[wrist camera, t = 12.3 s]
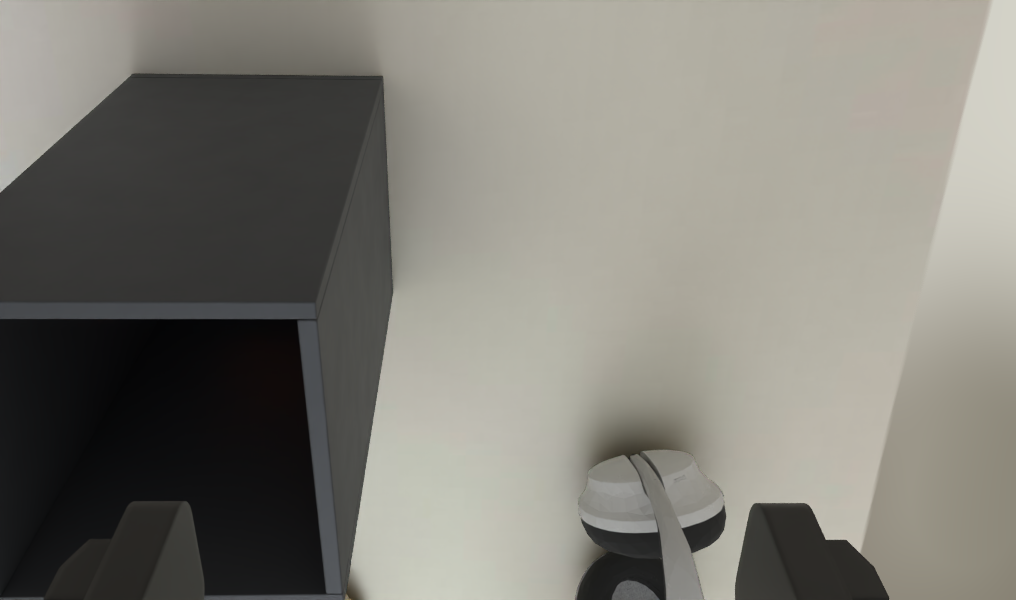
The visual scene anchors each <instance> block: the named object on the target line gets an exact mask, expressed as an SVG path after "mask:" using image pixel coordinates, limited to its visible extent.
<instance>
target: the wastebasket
mask: <svg viewBox="0 0 1016 600" xmlns="http://www.w3.org/2000/svg"><path fill="white" fill-rule="evenodd" d="M392 296H393V280H392V259H391V237H390V216H389V195H388V174H387V152H386V131H385V110H384V89H383V77H382V76H302V75H199V74H132V75H131V76H130V77H129V78H128V79H127V80H126V81H124V82H123V83H122V84H121V85H120V86H119V87H118V88H117V89H116V90H114V91H113V92H112V93H111V94H110V95H109V96H108V97H107V98H105V99H104V100H103V101H102V102H101V103H100V104H99V105H98V106H97V107H95V108H94V109H93V110H92V111H91V112H90V113H89V114H88V115H87V116H85V117H84V118H83V119H82V120H81V121H80V122H79V123H78V124H76V125H75V126H74V127H73V128H72V129H71V130H70V131H69V132H68V133H66V134H65V135H64V136H63V137H62V138H61V139H60V140H59V141H58V142H56V143H55V144H54V145H53V146H52V147H51V148H50V149H49V150H47V151H46V152H45V153H44V154H43V155H42V156H41V157H40V158H39V159H37V160H36V161H35V162H34V163H33V164H32V165H31V166H30V167H29V168H27V169H26V170H25V171H24V172H23V173H22V174H21V175H20V176H18V177H17V178H16V179H15V180H14V181H13V182H12V183H11V184H10V185H8V186H7V187H6V188H5V189H4V190H3V191H2V192H1V193H0V600H44V599H43V598H44V597H45V595H46V593H47V591H48V589H49V587H50V585H51V583H52V581H53V579H54V577H55V575H56V573H57V571H58V569H59V567H60V566H61V565H62V564H63V563H64V562H66V561H67V560H68V559H69V558H70V557H71V556H72V555H73V554H74V553H75V552H76V551H77V550H78V549H79V548H80V547H81V546H83V545H84V544H85V543H86V542H87V541H88V540H89V539H112V538H113V535H114V533H115V531H116V529H117V527H118V525H119V523H120V520H121V518H122V516H123V514H124V512H125V510H126V508H127V506H128V505H129V504H130V503H131V502H133V501H186V502H188V503H189V505H190V507H191V511H192V516H193V521H194V527H195V532H196V538H197V543H198V549H199V554H200V560H201V565H202V571H203V577H204V600H345V597H346V590H347V584H348V578H349V571H350V565H351V558H352V552H353V546H354V539H355V533H356V526H357V520H358V514H359V507H360V501H361V494H362V488H363V482H364V475H365V469H366V462H367V456H368V449H369V443H370V437H371V430H372V424H373V417H374V411H375V405H376V398H377V392H378V385H379V379H380V373H381V366H382V360H383V353H384V347H385V341H386V334H387V328H388V321H389V315H390V308H391V302H392Z"/></svg>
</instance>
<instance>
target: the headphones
mask: <svg viewBox="0 0 1016 600" xmlns="http://www.w3.org/2000/svg"><path fill="white" fill-rule="evenodd" d="M640 453H641V457H640V456H639V455H638V454H632V455H631V456H630V457H629V459H628V458H627V457H626V456H625V455H621V456H618V457H615V458H612V459H609V460H606V461H603V462H601V463H599V464H597V465H596V466H594V467H593V468H591V469H590V471H589V472H588V482H587V486H586V489H585V491H584V492H583V493H582V494H581V495H580V497H579V498H578V511H579V515H580V516H581V521H582V524H583V526H584V528H585V530H586V532H587V534H588V535H589V536H590V538H591V539H592V540H593V541H594V542H595V543H596V544H598V545H599V546H601V547H602V548H604V549H606V550H607V551H609V553H606V554H604V555H602V556H600V557H599V558H598V559H596V560H595V561H594V562H593V563H592V564H591V565H590V566H589V567H588V568H587V570H586V571H585V573H584V575H583V576H582V578H581V581H580V583H579V586H578V588H577V592H576V597H575V600H704V596H703V593H702V589H701V585H700V581H699V577H698V573H697V570H696V566H695V563H694V559H693V556H692V553H693V552H696V551H698V550H701V549H703V548H705V547H708V546H710V545H711V544H712V543H713V542H715V541H716V540H717V539H718V538H719V537H720V535H721V534H722V532H723V530H724V527H725V520H726V513H725V506H724V503H725V502H724V498H723V497H724V495H723V493H722V491H721V489H720V488H719V487H718V486H717V485H716V484H715V483H714V482H713V481H711V480H709V479H708V478H707V477H706V476H705V475H704V474H703V472H702V471H701V470H700V469H699V467H698V465H697V463H696V461H695V459H694V458H693V456H692V455H690V454H688V453H686V452H682V451H676V450H650V451H641V452H640ZM660 558H661V559H660Z"/></svg>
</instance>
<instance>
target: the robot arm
mask: <svg viewBox="0 0 1016 600" xmlns="http://www.w3.org/2000/svg"><path fill="white" fill-rule="evenodd" d="M43 599H44V600H204V577H203V571H202V565H201V560H200V554H199V549H198V543H197V538H196V532H195V527H194V521H193V516H192V511H191V507H190V505H189V503H188V502H186V501H133V502H131V503H130V504H129V505H128V506H127V508H126V510H125V512H124V514H123V516H122V518H121V520H120V523H119V525H118V527H117V529H116V531H115V533H114V535H113V538H112V539H89V540H88V541H87V542H86V543H85V544H84V545H83V546H81V547H80V548H79V549H78V550H77V551H76V552H75V553H74V554H73V555H72V556H71V557H70V558H69V559H68V560H67V561H66V562H64V563H63V564H62V565H61V566H60V567H59V569H58V571H57V573H56V575H55V577H54V579H53V581H52V583H51V585H50V587H49V589H48V591H47V593H46V595H45V597H44V598H43ZM735 600H889V596H888V594H887V592H886V590H885V588H884V586H883V584H882V582H881V580H880V578H879V576H878V574H877V572H876V570H875V568H874V566H872V565H871V564H870V563H869V562H868V561H867V560H866V559H865V558H864V557H863V556H862V555H861V554H860V553H859V552H858V551H857V550H856V549H855V548H854V547H853V546H852V545H851V544H850V543H849V542H848V541H847V540H825V537H824V535H823V533H822V531H821V528H820V526H819V524H818V522H817V520H816V517H815V515H814V513H813V511H812V509H811V508H810V506H809V505H807V504H805V503H755V504H754V505H753V506H752V507H751V510H750V513H749V517H748V522H747V527H746V532H745V537H744V542H743V547H742V552H741V556H740V561H739V566H738V571H737V576H736V584H735Z"/></svg>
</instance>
